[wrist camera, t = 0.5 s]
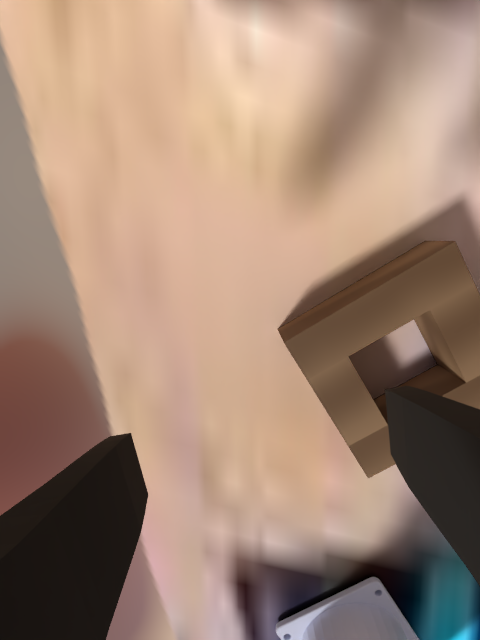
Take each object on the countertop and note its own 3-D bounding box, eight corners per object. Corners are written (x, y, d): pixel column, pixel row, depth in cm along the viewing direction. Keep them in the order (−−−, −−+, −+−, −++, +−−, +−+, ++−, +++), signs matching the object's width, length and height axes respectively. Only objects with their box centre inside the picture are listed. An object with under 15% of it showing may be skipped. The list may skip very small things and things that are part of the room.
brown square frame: (490, 376, 20) (525, 395, 17) (352, 450, 21) (368, 478, 18) (425, 241, 18) (455, 241, 15) (277, 329, 19) (284, 342, 16)
